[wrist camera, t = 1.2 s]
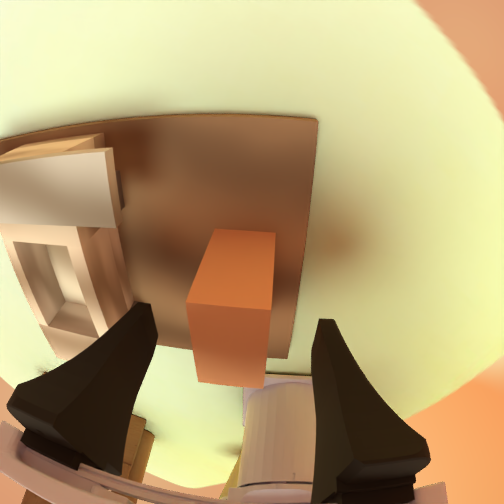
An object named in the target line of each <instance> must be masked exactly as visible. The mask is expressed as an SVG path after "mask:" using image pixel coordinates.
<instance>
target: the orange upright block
mask: <svg viewBox="0 0 504 504" xmlns="http://www.w3.org/2000/svg"><path fill="white" fill-rule="evenodd" d="M275 238H276V233H274V232H259V231H244V230H229V229H214V232H213V234H212V237H211V239H210V241H209V244H208V246H207V249H206V251H205V254H204V256H203V259H202V261H201V264H200V266H199V269H198V271H197V274H196V276H195V279H194V281H193V284H192V286H191V289H190V291H189V294H188V296H187V299H186V302H185V303H186V310H187V317H188V324H189V330H190V336H191V343H192V349H193V354H194V360H195V366H196V372H197V377H198V382H203V383H211V384H219V385H227V386H237V387H247V388H259V389H263V388H264V379H265V369H266V359H267V349H268V339H269V329H270V318H271V306H272V291H273V274H274V257H275Z"/></svg>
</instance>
